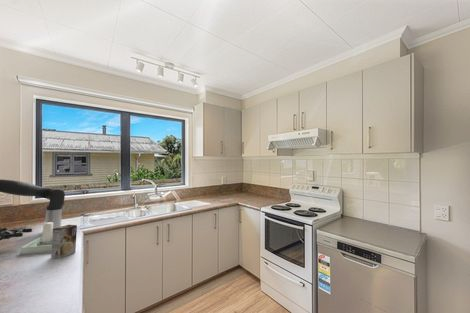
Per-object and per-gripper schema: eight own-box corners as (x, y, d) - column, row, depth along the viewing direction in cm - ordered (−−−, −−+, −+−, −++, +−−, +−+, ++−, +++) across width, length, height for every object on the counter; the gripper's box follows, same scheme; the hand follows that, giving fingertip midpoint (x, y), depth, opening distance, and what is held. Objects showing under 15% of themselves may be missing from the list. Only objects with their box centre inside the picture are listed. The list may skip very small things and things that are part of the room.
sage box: (39, 243, 132) (40, 237, 132) (68, 241, 137) (69, 235, 137) (20, 254, 115) (20, 247, 115) (54, 251, 119) (54, 245, 120)
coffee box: (67, 251, 121) (69, 224, 122) (75, 252, 120) (77, 225, 121) (50, 257, 112) (52, 228, 113) (59, 259, 111) (61, 229, 112)
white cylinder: (44, 244, 127) (46, 222, 128) (52, 244, 128) (54, 222, 129) (39, 247, 123) (41, 224, 124) (48, 246, 124) (50, 223, 125)
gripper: (-18, 231, 112) (19, 229, 117) (2, 224, 125) (35, 223, 130) (-20, 245, 111) (18, 242, 116) (1, 236, 125) (34, 234, 130)
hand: (27, 232), depth 123 cm, fingers open, 8 cm apart
